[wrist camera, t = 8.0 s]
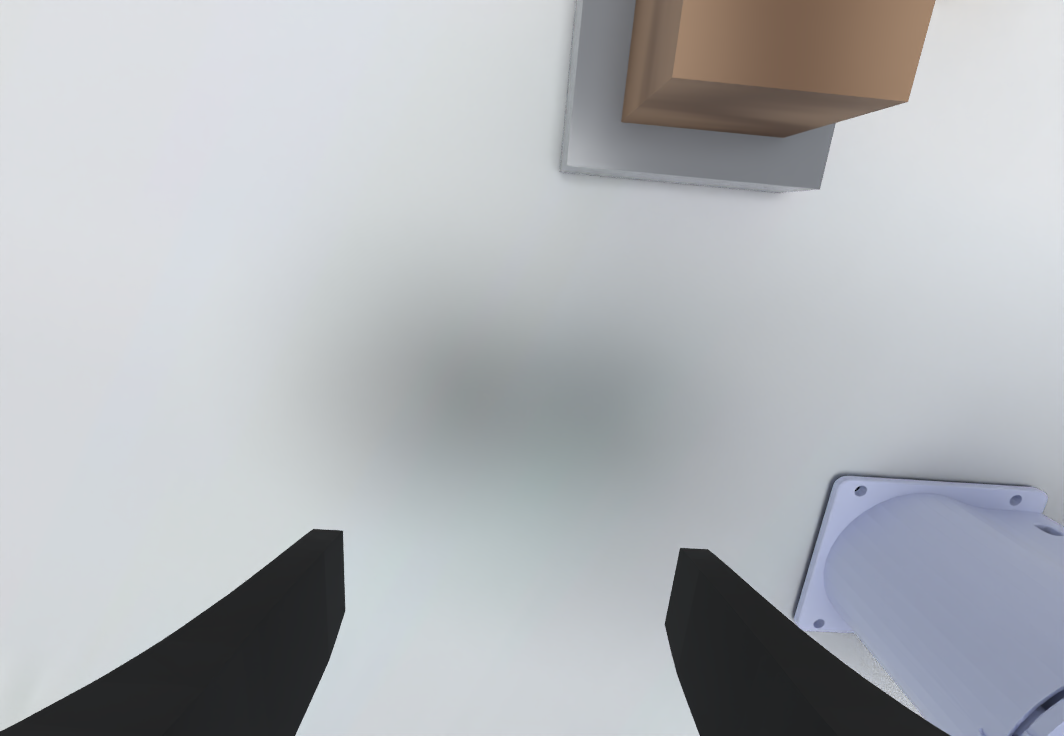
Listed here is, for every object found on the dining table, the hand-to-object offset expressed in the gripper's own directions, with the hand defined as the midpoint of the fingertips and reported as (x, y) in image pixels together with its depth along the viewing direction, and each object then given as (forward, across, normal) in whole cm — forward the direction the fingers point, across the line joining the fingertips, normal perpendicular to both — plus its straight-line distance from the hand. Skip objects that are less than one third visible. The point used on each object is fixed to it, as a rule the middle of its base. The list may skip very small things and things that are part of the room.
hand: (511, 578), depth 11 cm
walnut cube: (+7, -5, -13) cm, 16 cm away
